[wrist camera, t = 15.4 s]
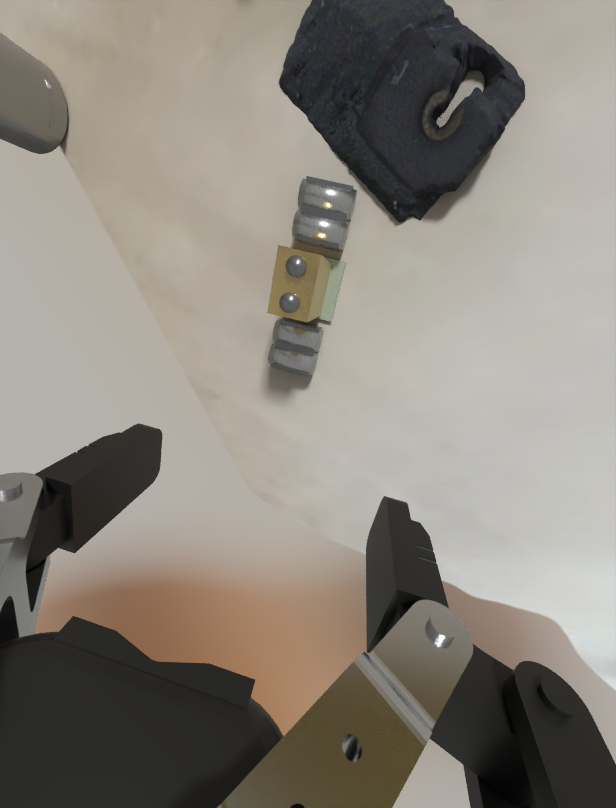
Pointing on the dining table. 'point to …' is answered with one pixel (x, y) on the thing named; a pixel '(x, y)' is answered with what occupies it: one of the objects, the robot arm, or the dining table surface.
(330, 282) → the pad
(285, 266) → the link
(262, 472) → the dining table surface
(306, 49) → the black stone with hole
